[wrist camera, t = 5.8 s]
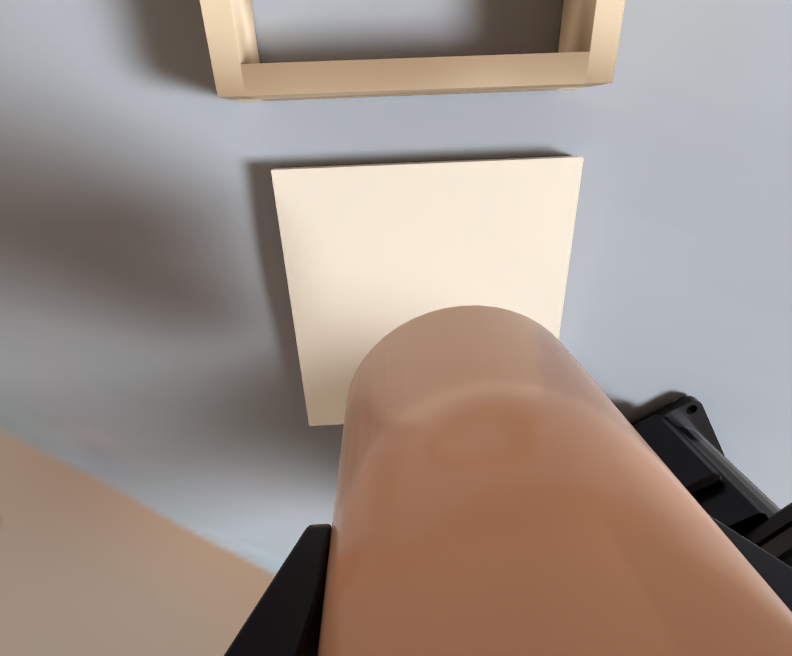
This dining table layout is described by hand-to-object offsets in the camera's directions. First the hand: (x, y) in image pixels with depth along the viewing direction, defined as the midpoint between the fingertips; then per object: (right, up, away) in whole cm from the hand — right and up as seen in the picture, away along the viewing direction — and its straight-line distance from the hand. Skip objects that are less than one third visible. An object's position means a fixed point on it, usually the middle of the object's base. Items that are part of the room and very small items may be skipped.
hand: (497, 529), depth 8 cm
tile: (-1, +5, +10) cm, 11 cm away
